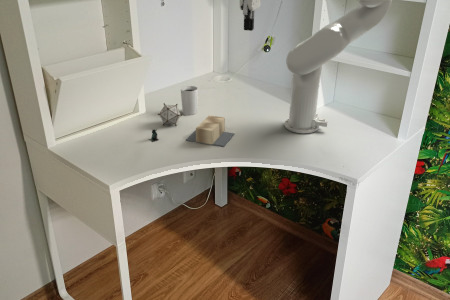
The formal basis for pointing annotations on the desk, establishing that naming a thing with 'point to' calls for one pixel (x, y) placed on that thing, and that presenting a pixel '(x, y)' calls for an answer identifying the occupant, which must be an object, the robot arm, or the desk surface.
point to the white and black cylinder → (189, 100)
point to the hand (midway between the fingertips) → (248, 29)
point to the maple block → (210, 129)
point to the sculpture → (154, 136)
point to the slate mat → (220, 141)
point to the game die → (170, 114)
